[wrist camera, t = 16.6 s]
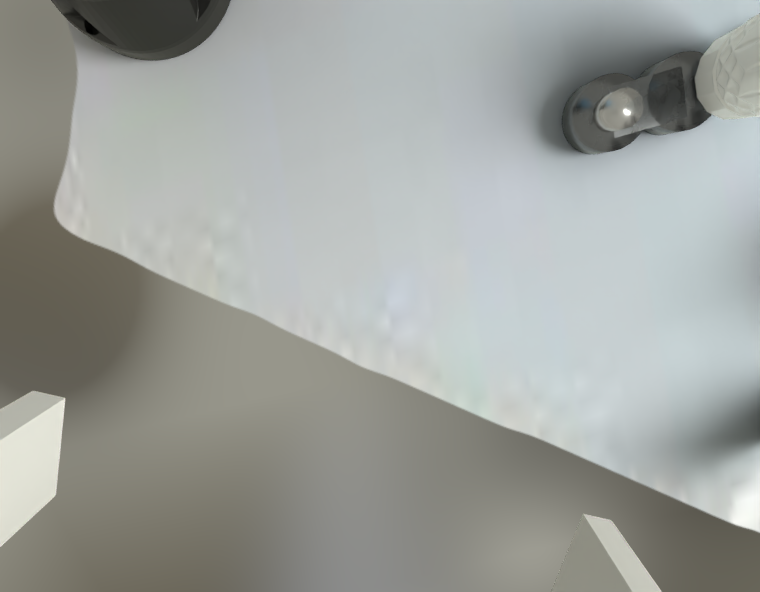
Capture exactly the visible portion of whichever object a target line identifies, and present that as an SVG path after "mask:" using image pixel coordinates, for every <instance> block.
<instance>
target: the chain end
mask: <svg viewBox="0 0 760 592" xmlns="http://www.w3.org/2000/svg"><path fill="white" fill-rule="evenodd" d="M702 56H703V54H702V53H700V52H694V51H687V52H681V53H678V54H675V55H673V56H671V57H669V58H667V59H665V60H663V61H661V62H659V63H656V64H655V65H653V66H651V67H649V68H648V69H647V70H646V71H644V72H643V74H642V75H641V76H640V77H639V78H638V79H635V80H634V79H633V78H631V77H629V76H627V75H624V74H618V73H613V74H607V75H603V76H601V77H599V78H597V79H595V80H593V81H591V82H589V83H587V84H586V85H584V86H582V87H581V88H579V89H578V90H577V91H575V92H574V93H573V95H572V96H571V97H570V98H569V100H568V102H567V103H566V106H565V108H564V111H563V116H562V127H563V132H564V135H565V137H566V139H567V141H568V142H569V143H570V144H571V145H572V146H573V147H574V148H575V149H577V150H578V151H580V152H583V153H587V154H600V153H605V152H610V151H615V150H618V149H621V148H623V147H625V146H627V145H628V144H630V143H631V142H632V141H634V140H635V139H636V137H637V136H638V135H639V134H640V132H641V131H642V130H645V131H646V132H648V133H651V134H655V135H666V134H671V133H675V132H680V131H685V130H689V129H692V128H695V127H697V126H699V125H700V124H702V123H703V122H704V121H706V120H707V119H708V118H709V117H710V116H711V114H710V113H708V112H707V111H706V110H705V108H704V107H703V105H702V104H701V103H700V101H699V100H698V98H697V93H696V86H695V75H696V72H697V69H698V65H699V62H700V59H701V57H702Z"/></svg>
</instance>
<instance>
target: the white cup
mask: <svg viewBox="0 0 760 592" xmlns="http://www.w3.org/2000/svg"><path fill="white" fill-rule="evenodd" d="M695 86H696V93H697V98H698V100H699V101H700V103H701V104H702V105H703V107H704V108H705V110H706V111H707V112H708V113H710V114H712V115H714V116H717V117H719V118H721V119H723V120H727V119H742V118H749V117H755V116H756V117H760V14H758V15H756V16H754V17H753V18H751V19H749V20H748V21H747V22H746V23H745V24H743V25H741V26H740V27H738V28H736V29H734V30H732V31H731V32H729V33H727V34H725V35H723V36H722V37H720V38H718V39H716V40H715V41H714V42H713V43H712V44H711V46H710V47H709V48H708V49H707V51H706V52H705V53H704V54H703V56H702V57H701V59H700V62H699V65H698V69H697V72H696V75H695Z"/></svg>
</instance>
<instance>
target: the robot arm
mask: <svg viewBox="0 0 760 592" xmlns="http://www.w3.org/2000/svg"><path fill="white" fill-rule="evenodd" d="M51 1H52V2H53V3H54V4H55V6H56V7H57V8H58V10H59V11H60V12H61V13H62V14H63V15H64V16H65V17H66V18H67V19H68V20H69V21H70V22H71V23H72V24H73V25H74V26H75V27H76V28H78V29H79V30H80V31H81V32H83V33H84V34H85V35H87V36H88V37H90V38H91V39H93V40H95V41H97V42H98V43H100V44H102V45H104V46H106V47H108V48H109V49H111V50H113V51H115V52H117V53H120V54H122V55H125V56H128V57H132V58H136V59H143V60H163V59H169V58H173V57H177V56H180V55H182V54H185V53H187V52H189V51H191V50H192V49H194V48H196V47H197V46H198V45H200V44H201V43H202V42H204V41H205V40H206V39H207V38H208V37H209V36H210V35H211V34H212V33H213V31H214V30H215V29H216V28H217V26H218V25H219V23H220V22H221V20H222V18H223V16H224V15H225V13H226V10H227V8H228V6H229V3H230V0H51ZM64 406H65V398H63V397H59V396H54V395H50V394H45V393H41V392H36V391H32V392H30V393H28V394H26V395H25V396H23V397H21V398H19V399H18V400H16V401H14V402H12V403H11V404H9V405H7V406H6V407H3V408H2V409H0V547H1V546H2V545H3V544H4V543H5V542H6V541H7V540H8V539H9V538H10V537H12V536H13V535H14V534H15V533H16V532H17V531H18V530H19V529H20V528H21V527H22V526H23V525H24V524H25V523H27V522H28V521H29V520H30V519H31V518H32V517H33V516H34V515H35V514H36V513H37V512H38V511H39V510H40V509H42V507H44V506H45V505H46V504H47V503H48V502H49V501H50V500H51V499H52V498H53V497H54V496H56V488H57V478H58V467H59V457H60V447H61V437H62V427H63V416H64ZM551 592H662V591H661V590H660V589H659V587H658V586H657V584H656V583H655V581H654V580H653V579H652V577H651V576H650V574H649V573H648V572H647V570H646V569H645V567H644V566H643V564H642V563H641V562H640V560H639V559H638V557H637V556H636V555H635V553H634V552H633V550H632V549H631V547H630V546H629V545H628V543H627V542H626V540H625V539H624V537H623V536H622V535H621V533H620V532H619V531H618V529H617V528H616V526H615V525H614V523H613V522H612V520H608V519H604V518H599V517H595V516H590V515H586V514H583V516H582V518H581V520H580V523H579V525H578V528H577V530H576V532H575V535H574V537H573V540H572V542H571V544H570V547H569V549H568V552H567V554H566V556H565V559H564V562H563V564H562V566H561V569H560V571H559V573H558V576H557V578H556V581H555V583H554V586H553V588H552V590H551Z"/></svg>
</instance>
